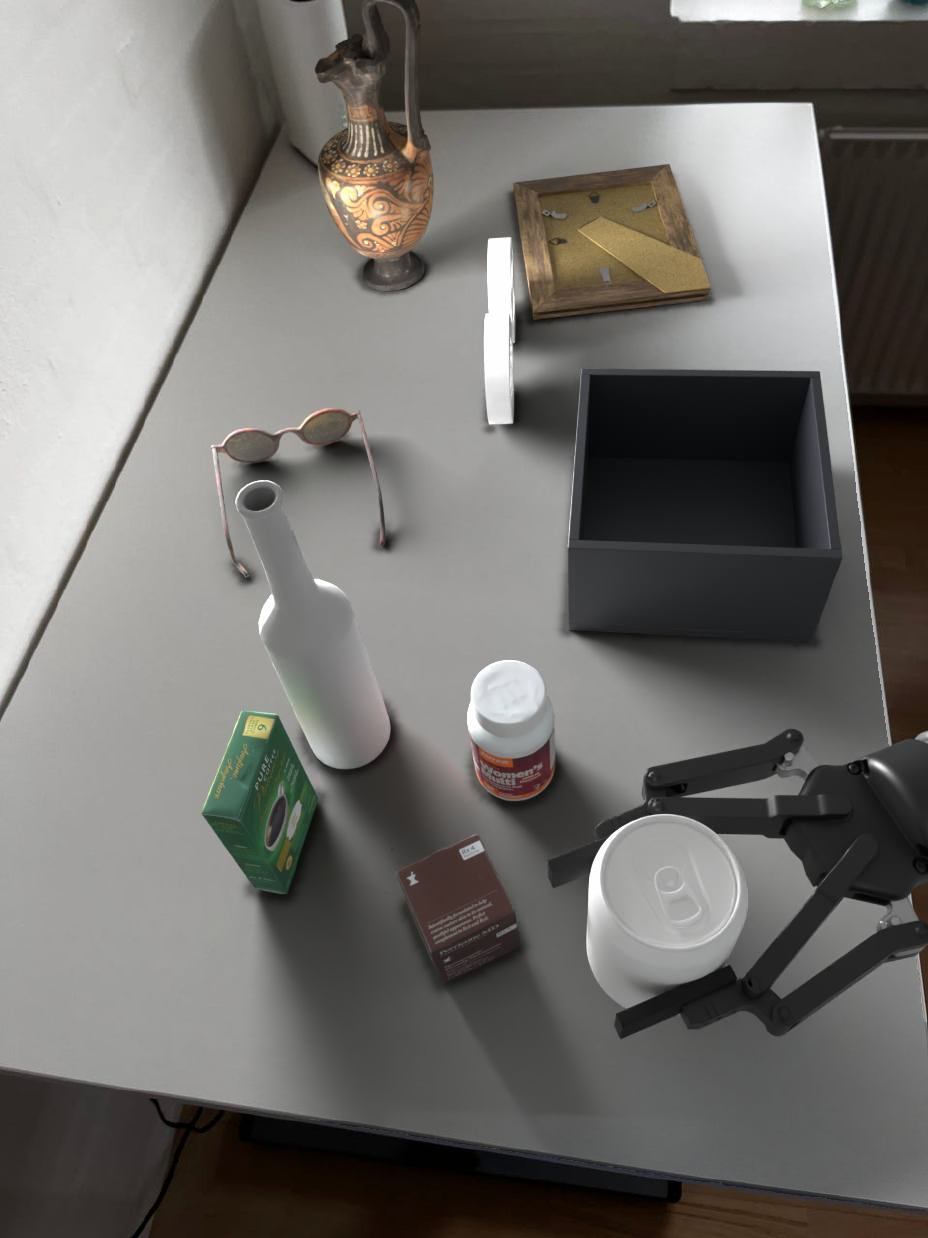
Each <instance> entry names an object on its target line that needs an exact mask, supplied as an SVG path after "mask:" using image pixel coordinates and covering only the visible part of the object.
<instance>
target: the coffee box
mask: <svg viewBox="0 0 928 1238" xmlns="http://www.w3.org/2000/svg"><path fill="white" fill-rule="evenodd" d="M318 801H319V797H318V795H317V792H316V790H315V787H314V785H313V784H312V782H311V780H310V779H309V776H308V774H307V772H306V770H305V768H304V766H303V764H302V761H301V760H300V757H299V756H298V753H297V751H296V749H295V747H294V745H293V743H292V741H291V739H290V736H289V735H288V732H287V731H286V728H285V726H284V724H283V722H282V721H281V718H280V716H279V714H278V713H274V712H265V711H264V712H262V711H254V710H252V711H251V710H244V709H242V710H241V711H240V714H239V716H238V719H237V721H236V723H235V726H234V729H233V731H232V734H231V737H230V740H229V742H228V744H227V746H226V749H225V752H224V754H223V756H222V760H221V762H220V765H219V767H218V769H217V772H216V774H215V777H214V780H213V782H212V784H211V787H210V789H209V792H208V794H207V797H206V800H205V802H204V805H203V807H202V809H201V812H200V814H201V816H202V817H203V818H204V820H205V821H206V822H207V824H208V825H209V827H210V828H211V830H212V831H213V832H214V834H215V835H216V836H217V838H218V839H219V841H220V842H221V843H222V845H223V846H224V848H225V849H226V850H227V852H228V853H229V854H230V856H231V857H232V858H233V860H234V862H235V863H236V865H237V866H238V867H239V869H240V870H241V872H242V873H243V875H244V876H245V877H246V879H247V880H248V881H249V882H250V884H251V885H252V887H253V888H254V889H255V890H259V891H264V892H268V893H269V892H270V893H274V894H280V895H284V894H285V895H287V894H288V893H289V890H290V886H291V884H292V881H293V878H294V875H295V873H296V870H297V866H298V862H299V859H300V856H301V853H302V850H303V846H304V844H305V840H306V837H307V834H308V831H309V828H310V825H311V822H312V819H313V817H314V813H315V810H316V807H317V804H318Z"/></svg>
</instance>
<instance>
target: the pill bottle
mask: <svg viewBox="0 0 928 1238" xmlns="http://www.w3.org/2000/svg"><path fill="white" fill-rule="evenodd" d="M466 717H467V718H466V721H467V722H466V723H467V729H468V734H469V739H470V746H471V753H472V758H473V765H474V769H475V774H476V777H477V779H478V781H479V783H480V784H481V786H482V787H483V789H485V790H486V791H487V792H488V793H489V794H490V795H493V797H496V798H498V799H500V800H503V801H509V802H519V801H521V802H522V801H526V800H530V799H532V798H534V797H536V796H538V795H539V794H540V793H542V792H543V791H544V790H545V789H546V788H547V787H548V786H549V784H550V782H551V781H552V779H553V776H554V773H555V768H556V732H555V731H556V730H555V718H556V717H555V712H554V707H553V703H552V701H551V700H550V698H549V696H548V694H547V685H546V683H545V680H544V678H543V676H542V675H541V673H540V672H539V671H538V670H537V669H536V668H535V667H533V666H531V665H530V664H528V663H526V662H523V661H521V660H515V659H514V660H513V659H505V660H500V661H496V662H494V663H491V664H489V665H487V666H486V667H485V668H483V669H482V670H481V671H480V672H479V673H478V674H477V675H476V677H475V678H474V680H473V682H472V685H471V689H470V703H469V706H468V709H467V716H466Z"/></svg>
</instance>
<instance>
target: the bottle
mask: <svg viewBox="0 0 928 1238" xmlns="http://www.w3.org/2000/svg"><path fill="white" fill-rule="evenodd" d="M284 500H285V497H284V491H283V489H282V488H281V486H280V485H279V484H277V483H276V482H273V481H270V480H257V481H252V482H250V483H249V484H246V485H245V486H244V487H242V488H241V489H240V491H239V492H238V493H237V495H236V498H235V500H234V501H235V509H236V510H237V512H238V513H239V514H240V515H241V516H242V518H243V521H244V523H245V525H246V528H247V530H248V532H249V536H250V537H251V540H252V543H253V545H254V549H255V550H256V552H257V555H258V557H259V560H260V562H261V565H262V567H263V571H264V573H265V577H266V580H267V584H268V586H269V589H270V593H271V594H270V596H269V598H268V599H267V600H266V602H265V603H264V605H263V607H262V609H261V613H260V617H259V620H258V631H259V632H258V633H259V638H260V639H261V642H262V643H263V646H264V648H265V650H266V653H267V654H268V657H269V659H270V661H271V663H272V666H273V668H274V670H275V673H276V675H277V677H278V679H279V681H280V683H281V686H282V688H283V691H284V692H285V695H286V697H287V699H288V702H289V704H290V705H291V708H292V710H293V713H294V714H295V716H296V719H297V721H298V723H299V726H300V728H301V730H302V732H303V734H304V736H305V739H306V741H307V742H308V744H309V746H310V748H311V750H312V753H313V755H314V756H315V758H317V759H318V760H319V761H320V762H322V763H323V764H324V765H326V766H327V767H328V766H329V767H330V768H335V769H338V770H352V769H353V770H354V769H356V768H361V767H363V766H366V765H368V764H369V763H371V762H372V761H374V760H375V759H376V758H377V757H378V756H380V755H381V753H382V752H383V751H384V750H385V748H386V747H387V744H388V742H389V740H390V736H391V731H392V729H391V728H392V727H391V721H390V716H389V714H388V711H387V708H386V704H385V701H384V697H383V694H382V692H381V689H380V686H379V682H378V680H377V677H376V673H375V671H374V667H373V665H372V661H371V658H370V655H369V652H368V650H367V646H366V644H365V641H364V638H363V635H362V632H361V628H360V626H359V622H358V620H357V617H356V614H355V611H354V608H353V605H352V603H351V601H350V600H349V598H348V595H346V593H345V592H344V591H343V590H341V589H340V588H339V587H338V586H336V585H335V584H333V583H331V582H328V581H325V580H322V579H319V578H314V577H313V574H312V572H311V570H310V568H309V566H308V563H307V562H306V560H305V557H304V555H303V553H302V551H301V548H300V545H299V542H298V540H297V537H296V535H295V532H294V529H293V526H292V524H291V521H290V519H289V516H288V514H287V511H286V509H285V506H284V503H283V502H284Z"/></svg>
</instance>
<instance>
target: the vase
mask: <svg viewBox="0 0 928 1238" xmlns="http://www.w3.org/2000/svg"><path fill="white" fill-rule="evenodd" d="M378 3H386V4H388V5H393V6H395V7H397V8H398V9H399V11H401V12H402V14H403V17H404V21H405V29H406V30H405V52H404V108H405V109H404V111H405V122H406V124H403V123H401V122H397V121H396V122H395V121H389V120H388V119H387V116H386V114H385V109H384V106H383V101H382V96H381V87H382V81H383V77H384V75H386V72H387V59H388V57H389V55H390V54H391V41H390V40H391V39H390V35H389V34H388V31H387V30H386V29H385V27H384V24H383V21H382V17H381V14H380V11H379V8H378V5H377V4H378ZM360 12H361V17H362V21H363V25H364V27H365V32H364V34H363V35H362V34H360V33H354V34H352V35H350V36H349V37H348V38H347V39H343V40H341V41H339V42H338V43H337V44H335V46H334V48H335V50H334V51H333V52H331V53H330V54H329V55H328V56H326V57H321V58H319V59H318V61H317V63H316V65H315V67H314V72H315V74H316V79H317V80H318V82H319V83H320V84H327V83H330V82H331V83H333V84H334V86H336V87H337V89H338V90H339V91H340V93H341V95H342V98H343V100H344V102H345V109H346V116H347V127H346V128H344V129H343V130H341V131H339V132H337V133H336V134H334V135H333V136H331V138H329V139H328V140H327V141H326V143H324V145H323V147H322V148H321V150H320V152H319V154H318V160H317V172H318V179H319V184H320V190H321V192H322V195H323V199H324V201H325V204H326V205H325V206H326V207H327V210H328V212H329V215H330V217H331V219H332V220H333V222H334V224H335V226H336V228H337V230H338V231H339V233H340V234H341V236H342V237H343V238H344V240H345V241H346V243H347V244H348V245H349V246H350V248H352V250H354V251H356V252H357V253H359V254H360V255H362V256H364V257H367V258H370V259H368V261H367V262H366V263H365V264H364V265H363V268H362V275H361V276H362V280H363V282H364V284H365V285H366V286H367V287H368V288H370V289H373V290H375V291H380V292H393V291H399V290H404V289H406V288H409V287H411V286H413V285H415V284H416V283H418V282H419V281H420V280H421V279H422V278H423V276H424V273H425V270H426V269H425V264H424V261H423V260H422V259H421V258H420V257H419V256H418V255H417V254H416V252H413V251H411V250H412V249H414V248H415V247H416V246H417V245H418V244H419V243H420V242H421V239H422V238H423V237H424V235H425V233H426V231H427V229H428V226H429V224H430V219H431V215H432V210H433V203H434V190H435V189H434V188H435V187H434V185H435V183H434V181H435V180H434V169H433V162H432V157H431V153H430V151H431V150H432V146H431V143H430V140H429V136H428V135H427V134H426V133H425V130H424V127H423V123H422V116H421V105H420V101H421V100H420V53H421V52H420V50H421V15H420V10H419V8H418V4H417V2H416V0H362V3H361V8H360Z"/></svg>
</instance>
